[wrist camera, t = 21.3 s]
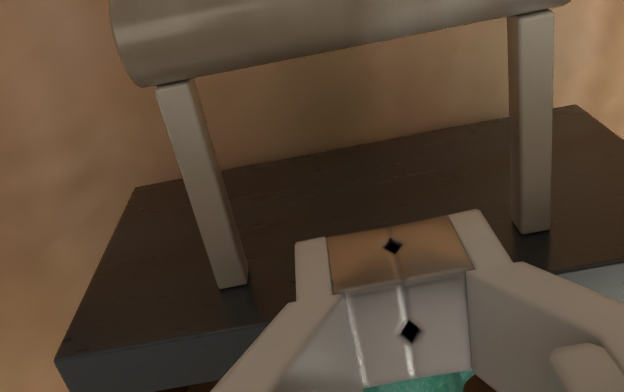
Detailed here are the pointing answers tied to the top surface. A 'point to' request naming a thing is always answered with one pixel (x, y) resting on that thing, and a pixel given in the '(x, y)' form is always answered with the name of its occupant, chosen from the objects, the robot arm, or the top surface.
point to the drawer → (324, 185)
